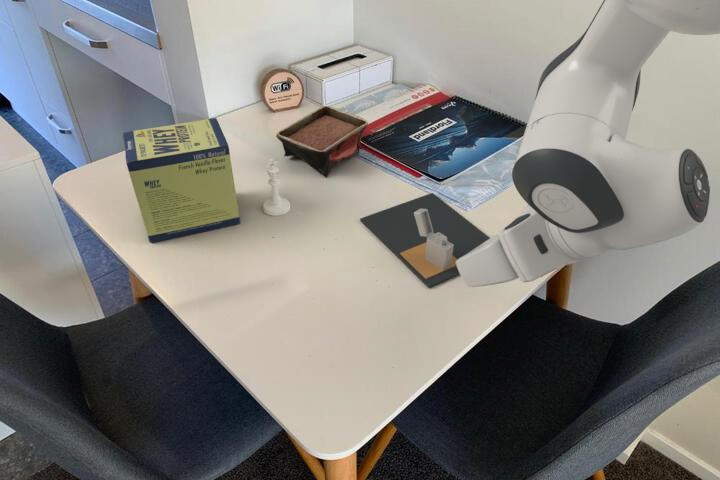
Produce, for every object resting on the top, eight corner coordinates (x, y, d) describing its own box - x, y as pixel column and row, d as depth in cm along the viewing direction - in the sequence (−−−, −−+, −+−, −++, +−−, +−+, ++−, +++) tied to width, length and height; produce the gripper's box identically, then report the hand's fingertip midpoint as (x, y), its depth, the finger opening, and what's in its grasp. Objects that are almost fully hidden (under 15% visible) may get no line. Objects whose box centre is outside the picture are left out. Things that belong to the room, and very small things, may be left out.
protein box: (242, 223, 91) (229, 144, 81) (149, 244, 86) (123, 162, 76) (230, 192, 99) (217, 116, 89) (143, 210, 94) (119, 131, 84)
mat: (506, 253, 86) (507, 250, 85) (428, 288, 79) (429, 285, 78) (432, 194, 99) (432, 191, 98) (360, 220, 92) (360, 217, 92)
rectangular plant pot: (373, 162, 112) (376, 116, 107) (317, 186, 99) (317, 135, 94) (323, 146, 119) (324, 102, 114) (265, 166, 107) (263, 118, 102)
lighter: (451, 266, 82) (457, 225, 77) (444, 271, 81) (450, 230, 76) (417, 244, 86) (421, 205, 81) (410, 249, 85) (413, 209, 80)
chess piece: (261, 202, 96) (255, 154, 90) (288, 198, 97) (284, 151, 91) (264, 217, 93) (258, 168, 86) (292, 213, 93) (288, 165, 87)
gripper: (594, 172, 67) (516, 202, 79) (497, 236, 56) (423, 260, 68) (616, 216, 67) (535, 239, 79) (523, 288, 56) (445, 303, 68)
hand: (482, 250), depth 73 cm, fingers open, 8 cm apart
